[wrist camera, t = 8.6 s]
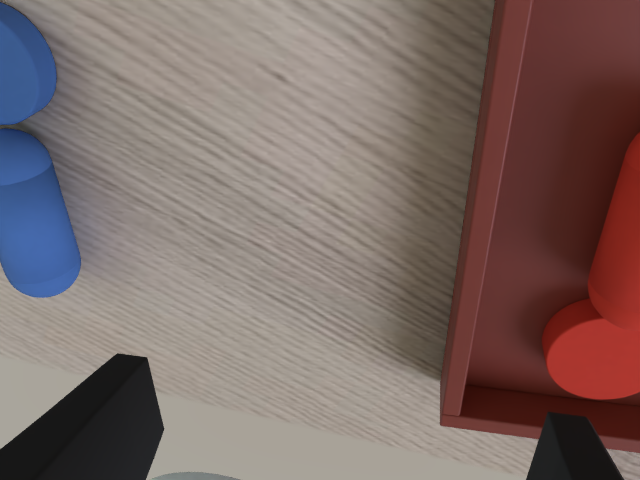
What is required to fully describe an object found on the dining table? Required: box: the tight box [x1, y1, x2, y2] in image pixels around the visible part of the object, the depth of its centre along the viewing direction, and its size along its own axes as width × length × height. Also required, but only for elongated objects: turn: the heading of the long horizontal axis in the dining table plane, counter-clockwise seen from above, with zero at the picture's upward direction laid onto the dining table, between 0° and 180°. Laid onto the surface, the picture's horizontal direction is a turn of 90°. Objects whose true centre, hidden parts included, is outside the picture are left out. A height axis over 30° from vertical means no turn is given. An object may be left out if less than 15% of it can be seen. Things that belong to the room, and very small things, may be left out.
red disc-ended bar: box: [542, 132, 640, 400], centre depth 15 cm, size 10×3×2 cm, turn 1°
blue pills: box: [0, 2, 81, 298], centre depth 18 cm, size 10×3×2 cm, turn 1°
